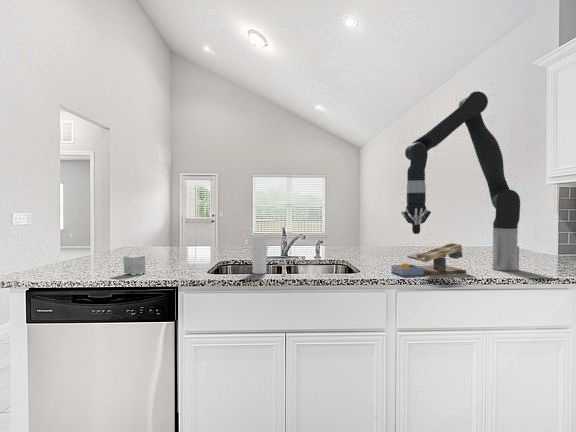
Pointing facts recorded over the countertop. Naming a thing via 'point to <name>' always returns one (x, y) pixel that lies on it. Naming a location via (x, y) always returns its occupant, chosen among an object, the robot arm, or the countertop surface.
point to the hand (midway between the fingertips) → (416, 233)
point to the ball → (404, 265)
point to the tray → (407, 270)
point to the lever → (439, 253)
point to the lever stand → (440, 268)
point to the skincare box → (134, 264)
